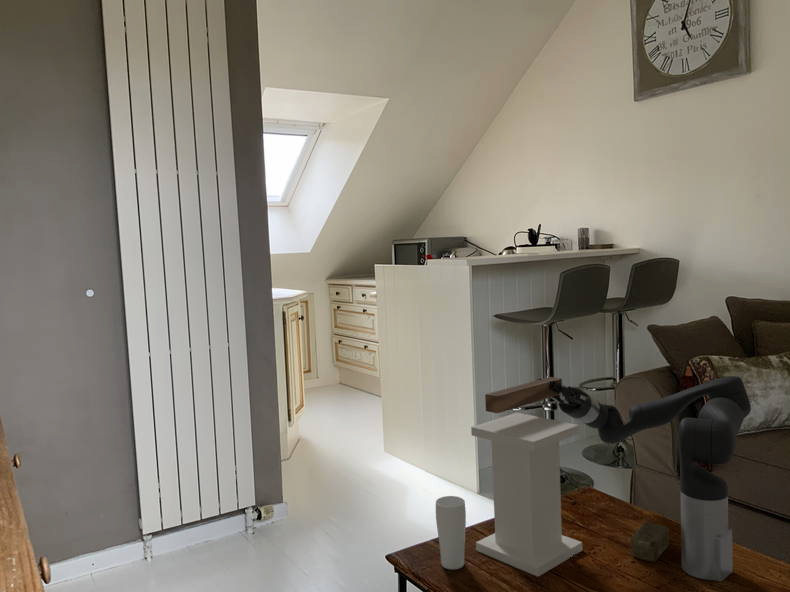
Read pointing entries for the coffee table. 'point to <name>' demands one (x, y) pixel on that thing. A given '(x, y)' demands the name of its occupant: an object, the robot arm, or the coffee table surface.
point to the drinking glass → (451, 530)
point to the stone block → (649, 541)
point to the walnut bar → (520, 395)
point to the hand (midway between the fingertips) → (544, 382)
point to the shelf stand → (527, 492)
